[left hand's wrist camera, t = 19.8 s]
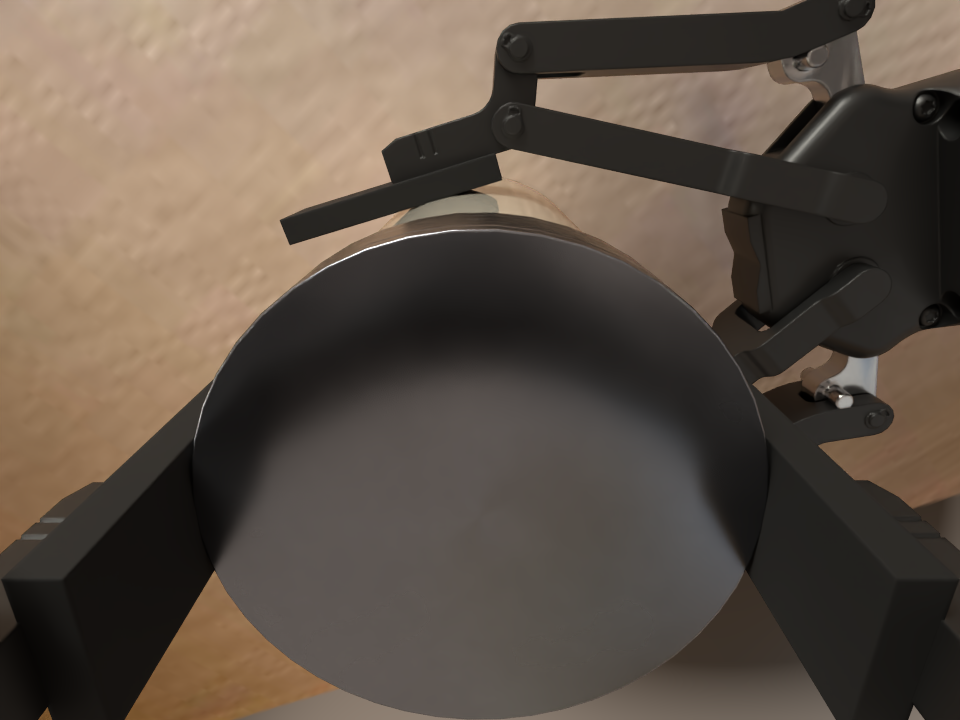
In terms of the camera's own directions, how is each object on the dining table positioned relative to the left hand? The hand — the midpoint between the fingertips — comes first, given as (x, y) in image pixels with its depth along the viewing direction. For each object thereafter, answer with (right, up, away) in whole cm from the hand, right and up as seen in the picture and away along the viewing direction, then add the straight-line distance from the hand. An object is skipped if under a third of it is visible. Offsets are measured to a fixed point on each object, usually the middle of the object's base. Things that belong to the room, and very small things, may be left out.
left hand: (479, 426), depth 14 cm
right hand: (-4, +1, +7) cm, 8 cm away
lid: (0, -1, -3) cm, 3 cm away
